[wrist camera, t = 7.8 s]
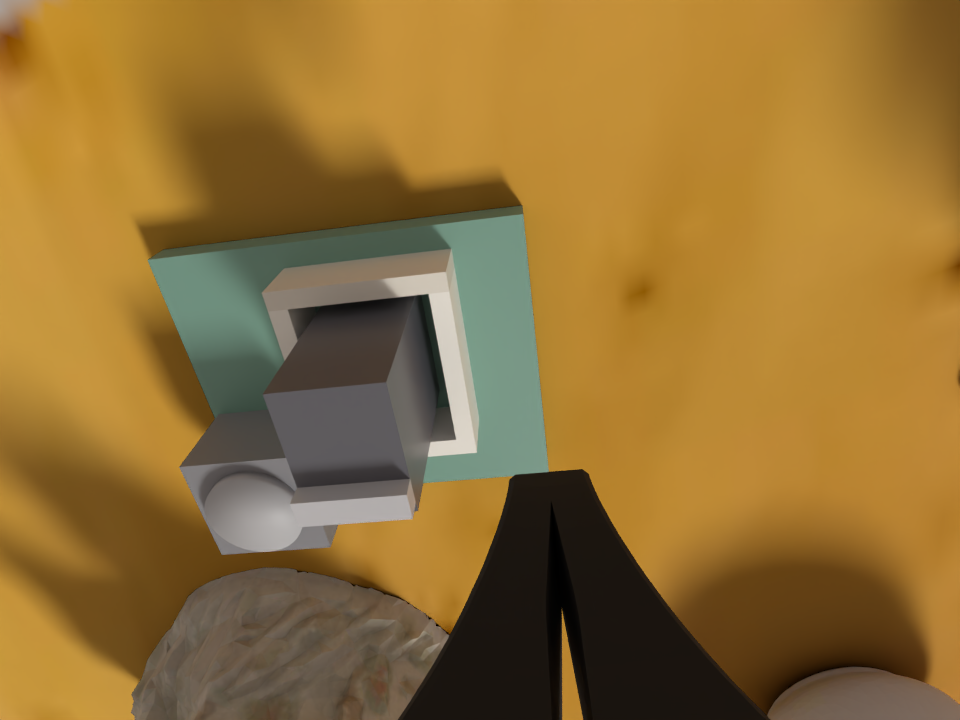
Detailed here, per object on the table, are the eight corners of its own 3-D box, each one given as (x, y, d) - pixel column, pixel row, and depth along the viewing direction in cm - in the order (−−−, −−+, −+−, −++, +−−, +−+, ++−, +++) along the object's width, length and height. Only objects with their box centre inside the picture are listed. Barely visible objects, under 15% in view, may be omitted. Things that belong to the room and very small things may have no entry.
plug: (419, 284, 19) (381, 396, 13) (439, 389, 21) (415, 527, 15) (328, 294, 19) (253, 408, 13) (357, 397, 21) (301, 535, 15)
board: (522, 205, 19) (526, 251, 15) (547, 456, 23) (555, 540, 20) (163, 249, 20) (80, 303, 16) (257, 480, 25) (211, 564, 21)
